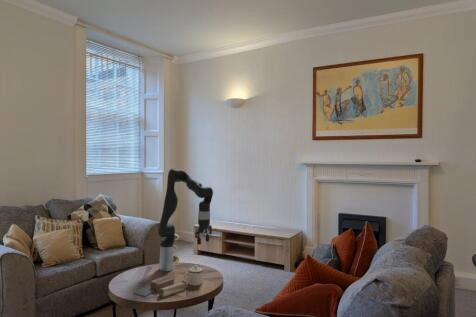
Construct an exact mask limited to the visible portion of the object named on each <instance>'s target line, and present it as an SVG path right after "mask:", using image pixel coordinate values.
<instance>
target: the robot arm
mask: <svg viewBox="0 0 476 317" xmlns="http://www.w3.org/2000/svg"><path fill="white" fill-rule="evenodd" d="M166 181H167V182H166V191H165V197H164V202H163V208H162V212H161V217H160V221H159V225H158V230H157V232H158V236H159V237H160V238H164V239H163V240H161V241H160V243H159V244H160V247H159V248H160V251H159V252H160V253H159V266H158V267H159V268H158V269H159V270H160V271H161V272H171V271H172V270H174V244H175V237H176V234H175V233H176V230H175V229H176V227H175V225H174V224H173V223H171V222H169V221H170V219H171V217H172V216H173V215H174V213H175V212H176V210H177V208H178V201H179V199H178V196H177V193H176V190H175V186H176V185H175V184H176V183H180V182H182V183H185V185H186V187H187V188H188V189H189V190H190V191H192V192H194V194H195V196H197V198H199V199H203V200H201V201H200V202H198V203H199V204H198V212H197V213H198V214H197V215H198V216H197V225H198V228H195V232H194V233H195V235H194V238H195V239H197V243H196V244H197V245H199V246H200V245H202V237H203V236H204V235H205V242H208V243H209V242H210V236H211V235H212V230H213V229H212V227H213V226H212V225H211V212H210V211H211V203H212V200H213V199H212V198H213V195H214V190H213V187H211V186H203V185H202V183H201V182H199V181H197V180H196V179H194V177H192V176H190V175H189V173H188V172H186V171H185V170H184V169H183V168H171V169H169V171H168V173H167V179H166Z"/></svg>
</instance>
